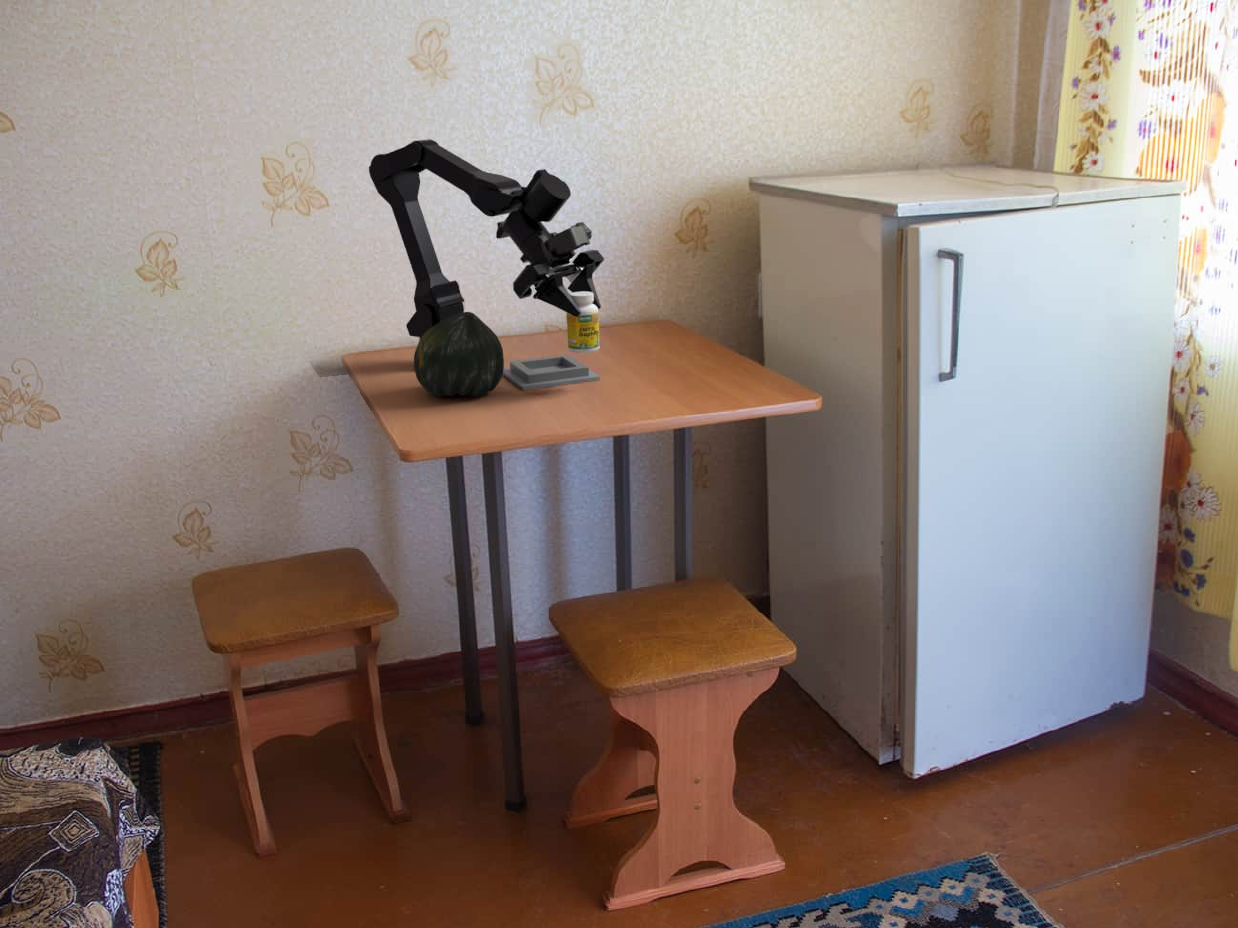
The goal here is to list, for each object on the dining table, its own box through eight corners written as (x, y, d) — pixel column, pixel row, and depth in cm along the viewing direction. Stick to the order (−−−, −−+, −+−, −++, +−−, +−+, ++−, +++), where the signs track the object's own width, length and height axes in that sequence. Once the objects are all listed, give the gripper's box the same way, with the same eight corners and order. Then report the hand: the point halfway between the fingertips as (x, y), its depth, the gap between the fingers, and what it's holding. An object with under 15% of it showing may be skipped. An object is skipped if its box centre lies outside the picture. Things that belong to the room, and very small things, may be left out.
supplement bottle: (589, 344, 199) (587, 289, 196) (606, 350, 195) (604, 293, 192) (562, 349, 196) (559, 293, 193) (578, 355, 192) (576, 298, 189)
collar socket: (500, 372, 210) (499, 361, 210) (573, 362, 215) (572, 351, 214) (523, 390, 198) (522, 378, 197) (600, 379, 203) (599, 368, 202)
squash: (404, 355, 202) (413, 300, 190) (487, 348, 207) (501, 295, 195) (420, 423, 195) (430, 371, 183) (506, 414, 201) (521, 363, 188)
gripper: (522, 214, 183) (581, 290, 181) (593, 201, 197) (648, 271, 195) (488, 261, 190) (544, 334, 188) (558, 245, 204) (611, 313, 202)
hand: (589, 312), depth 193 cm, fingers closed on supplement bottle, 5 cm apart
